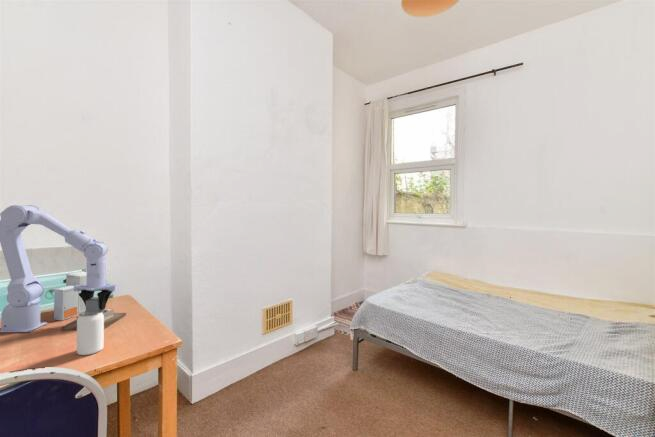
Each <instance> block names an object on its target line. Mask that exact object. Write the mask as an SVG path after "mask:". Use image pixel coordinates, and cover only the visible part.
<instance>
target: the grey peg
mask: <svg viewBox="0 0 655 437" xmlns="http://www.w3.org/2000/svg"><path fill="white" fill-rule="evenodd" d="M88 310H100V308H99V298H98V296H94V297H93V298H90V299H88V300H86V311H88ZM102 313H103V314H104V309H103V310H102Z"/></svg>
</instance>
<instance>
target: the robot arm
mask: <svg viewBox="0 0 655 437" xmlns="http://www.w3.org/2000/svg"><path fill="white" fill-rule="evenodd" d="M30 225H41V226H43V227H45V228H46V229H49V230H50V231H52V232H54V233H55V234H56V233H57V234H58V235H59V236H61V237H63V238H64V242H65V243H67V244H68V245H70V246H71V247H72V248H75V249H76V250H78V251H80V252H82V254H83V256H84V257H85V258H86V272H87V278H86V285H76V286H74V291H81V293H79V296H80V297H81V298H82V300H83V301H84V303H85V306H86V300H88V299H90V298H93V296H94V297H95V292H97V291H98V292H97V297H98V298H99V308H100V310H103V309H106V307H107V303H108V300H109V298H110V296H111V294H112V293H113V292H117V291H118V290H119V285H118V284H107V283H106V275H107V274H106V270H107V269H106V266H107V264H106V261H107V260H106V255H107V254H108V251H109V247H108V246H107V244H106V243H105V242H103V241H98V239H96V238H93V237H91V236H89V235H87V233H86V230H85V231H84V230H79V229H75V230H74V229H73V230H72V228H70V227H68V226H67V225H65V224H64V223H62V222H61V221H60V220H58V219H57V218H55V217H53V216H52V215H51V214H50V213H48V212H47V211H45V209H44V210H43V209H41V208H39V207H38V206H37V205H32V204H30V205H28V204H27V205H17V204H15V205H14V204H13V205H9V206H8V207H6V208H5V209H3V211H1V212H0V248H1V250H2V253H3V257H4V260H5V264H6V267H7V271H8V274H9V277H10V281H9V283H8V284H7V287H6V288H7V294H6V301H7V303H8V304H7V305H6V306H4V307H3V309H2V311H1V314H0V318H1V320H0V323H1V325H0V327H1V329H0V333H30V332H32V331H33V330H34V331H35V330H37V329H38V328H40V327H42V326H45V325H47V324H48V322H47V321H41V297H42V296H43V295H44V293H45V287H44V285H43V284H42V283H41V282H40V281H39V278H38V277H37V276H35V275H34V274H33V271H32V269H31V265H30V261H29V257H28V254H27V251H26V248H25V243H24V239H23V236H22V232H23V231H24V230H25V229H26V228H28V226H30Z"/></svg>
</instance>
